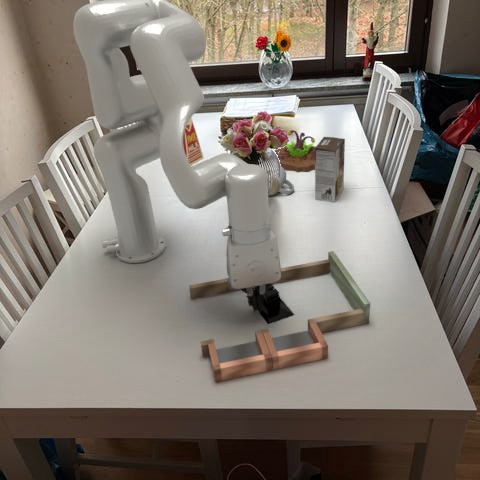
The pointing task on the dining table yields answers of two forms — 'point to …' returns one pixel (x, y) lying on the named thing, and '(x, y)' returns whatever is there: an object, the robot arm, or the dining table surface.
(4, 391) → the dining table surface
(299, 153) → the plant
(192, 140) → the milk carton
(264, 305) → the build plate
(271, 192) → the ceramic mug
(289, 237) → the dining table surface
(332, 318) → the track
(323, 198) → the coffee box
